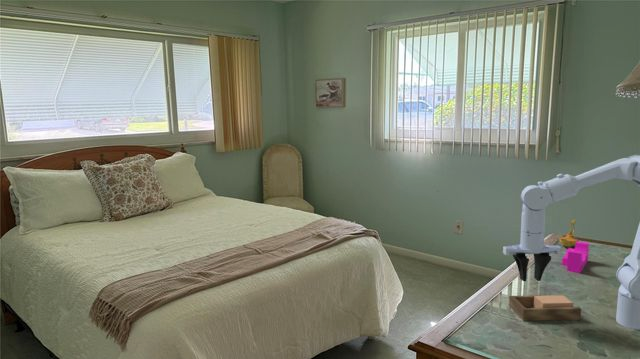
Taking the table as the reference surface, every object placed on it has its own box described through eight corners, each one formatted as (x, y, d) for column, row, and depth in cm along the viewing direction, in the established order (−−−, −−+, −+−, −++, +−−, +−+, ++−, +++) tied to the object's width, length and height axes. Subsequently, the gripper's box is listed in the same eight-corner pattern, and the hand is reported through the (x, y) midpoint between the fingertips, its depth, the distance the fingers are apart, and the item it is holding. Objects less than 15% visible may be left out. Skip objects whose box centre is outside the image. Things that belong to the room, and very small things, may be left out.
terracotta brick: (562, 308, 124) (563, 295, 123) (572, 317, 119) (573, 302, 119) (533, 309, 124) (534, 295, 123) (542, 317, 119) (543, 303, 119)
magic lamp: (551, 255, 169) (552, 226, 168) (563, 244, 182) (565, 217, 181) (571, 258, 165) (573, 229, 163) (582, 247, 178) (584, 220, 176)
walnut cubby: (562, 304, 126) (562, 294, 126) (580, 319, 117) (581, 308, 117) (508, 305, 126) (509, 295, 126) (523, 320, 117) (523, 309, 117)
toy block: (568, 259, 164) (569, 240, 163) (587, 263, 160) (589, 242, 159) (558, 271, 153) (560, 250, 152) (579, 275, 149) (580, 253, 148)
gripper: (552, 226, 122) (549, 273, 124) (499, 227, 122) (497, 274, 124) (566, 233, 115) (563, 283, 117) (510, 234, 115) (508, 284, 117)
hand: (530, 279), depth 120 cm, fingers open, 3 cm apart
